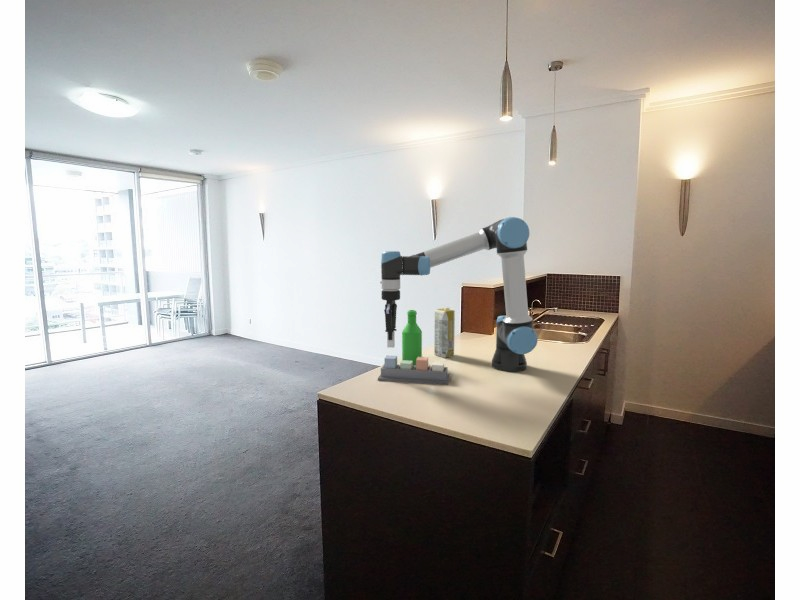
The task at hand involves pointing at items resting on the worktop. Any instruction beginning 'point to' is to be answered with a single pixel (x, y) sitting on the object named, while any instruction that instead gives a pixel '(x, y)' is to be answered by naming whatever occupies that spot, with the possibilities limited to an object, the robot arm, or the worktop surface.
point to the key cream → (438, 366)
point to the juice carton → (444, 332)
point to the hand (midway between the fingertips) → (390, 346)
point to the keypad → (414, 375)
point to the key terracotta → (422, 363)
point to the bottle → (411, 339)
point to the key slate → (390, 362)
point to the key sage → (406, 364)
